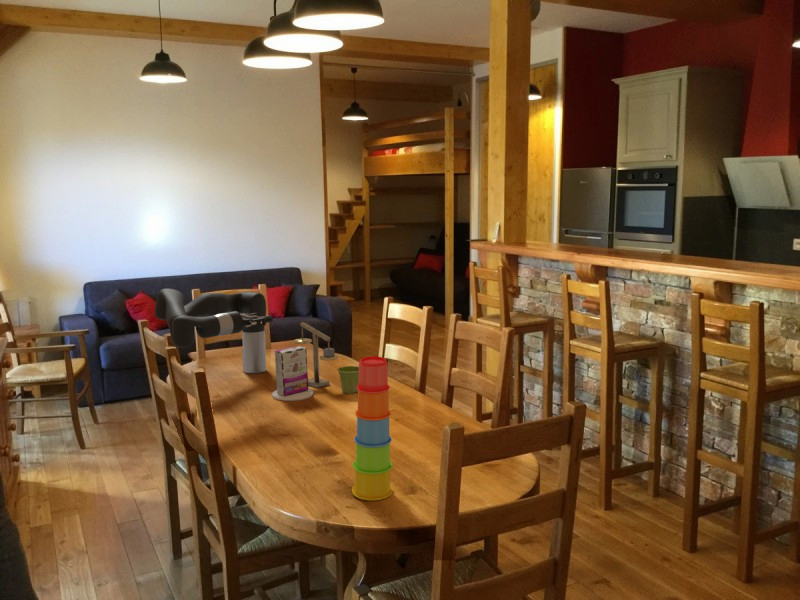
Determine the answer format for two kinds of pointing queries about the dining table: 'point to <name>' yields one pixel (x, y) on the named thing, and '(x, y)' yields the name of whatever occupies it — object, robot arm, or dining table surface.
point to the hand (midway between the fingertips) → (264, 317)
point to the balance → (327, 354)
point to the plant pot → (349, 378)
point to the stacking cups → (372, 431)
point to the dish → (294, 395)
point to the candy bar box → (291, 370)
